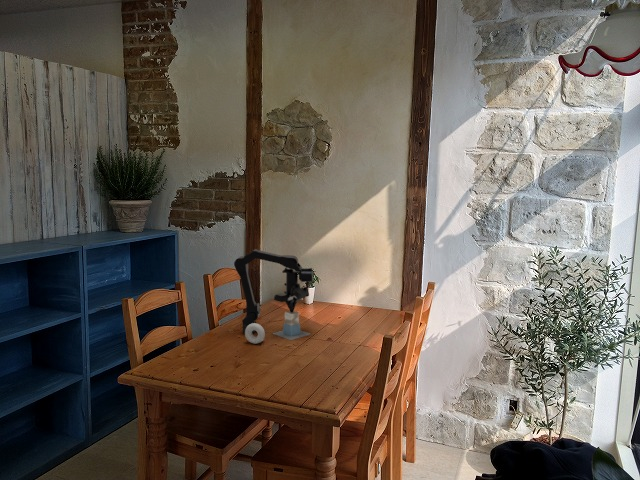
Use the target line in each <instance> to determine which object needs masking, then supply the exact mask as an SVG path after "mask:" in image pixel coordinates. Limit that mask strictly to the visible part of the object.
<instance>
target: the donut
mask: <svg viewBox="0 0 640 480" xmlns="http://www.w3.org/2000/svg"><path fill="white" fill-rule="evenodd" d="M253 330H255V331H257V332H256V333H257V336H255V335H254V334H252V331H253ZM265 335H266V332H265V329H264V327H263V326H262V325H261V324H259V323H257V322H256V323H252V324H249V325H248V326H247V328H246V330H245V334H244V336H245V338H246V340H247V341H248V342H250V343H251V344H254V345H255V344H257V345H258V344H261V343H263V341H264V340H265V338H266V337H265Z"/></svg>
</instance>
